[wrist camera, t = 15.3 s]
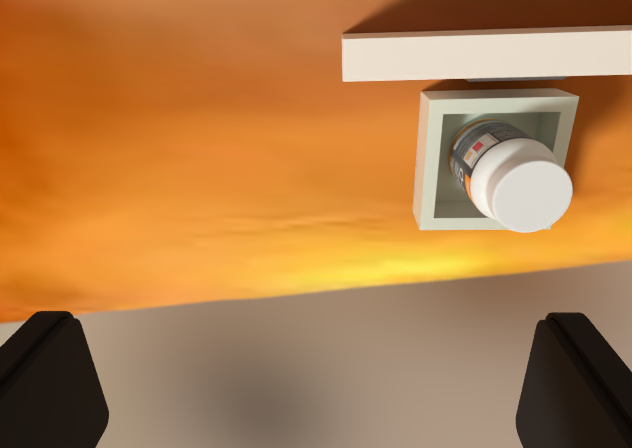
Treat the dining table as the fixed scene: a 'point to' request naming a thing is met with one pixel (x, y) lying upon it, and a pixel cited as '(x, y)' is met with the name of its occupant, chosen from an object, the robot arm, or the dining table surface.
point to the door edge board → (488, 54)
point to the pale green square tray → (456, 112)
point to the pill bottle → (509, 175)
